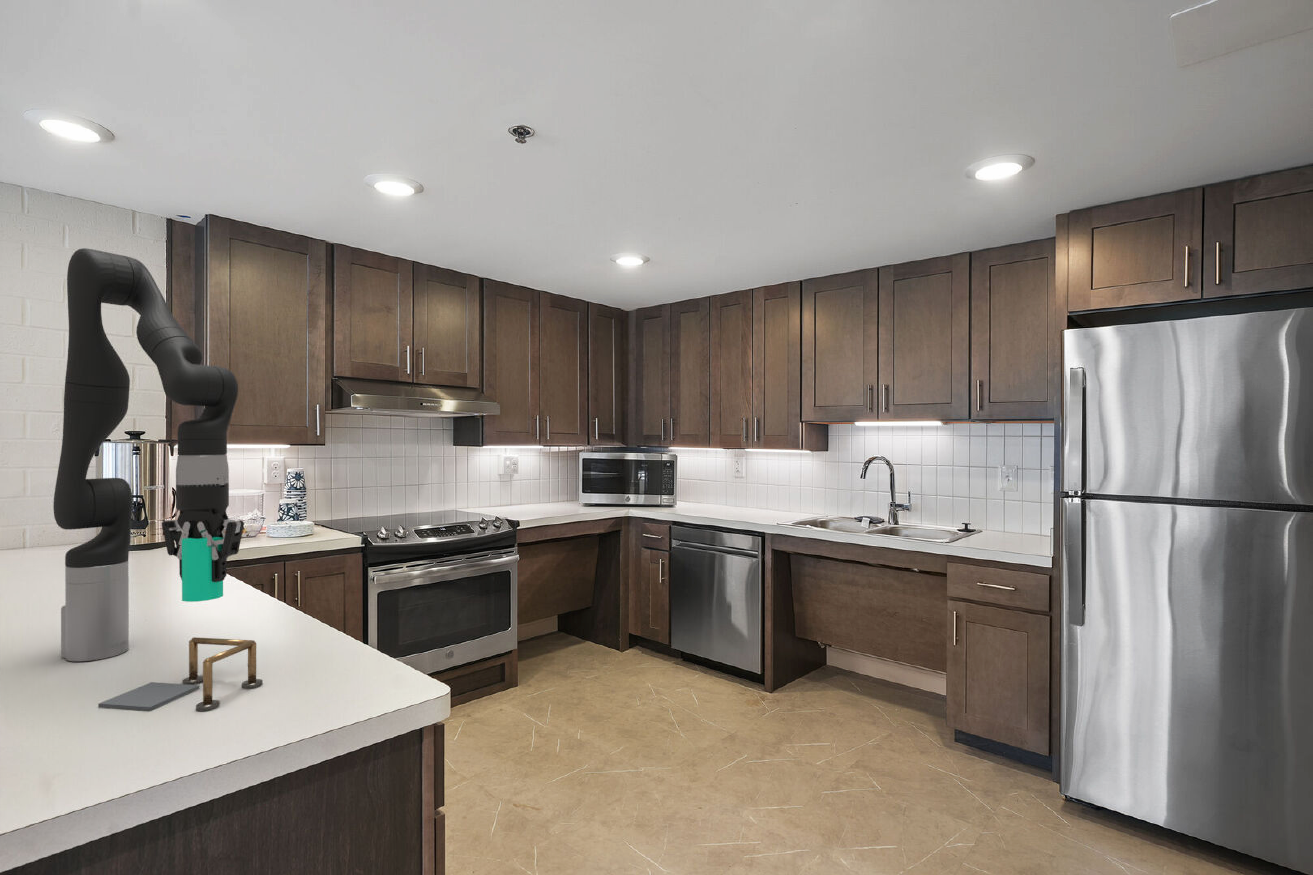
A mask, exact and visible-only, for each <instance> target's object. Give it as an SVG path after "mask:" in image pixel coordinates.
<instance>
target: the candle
mask: <svg viewBox="0 0 1313 875" xmlns="http://www.w3.org/2000/svg"><path fill="white" fill-rule="evenodd" d="M212 539H213V540H214V541H218V540H222V537H212ZM207 541H208V540H207V538H199V539H196V538H185V539H182V580H181V601H182V602H186V603H187V602H188V603H189V602H190V603H191V602H193V603H194V602H195V603H196V602H198V603H199V602H204V601H205V602H206V601H210V600H211V601H212V600H218V599H220V598H221V597H224V580H223V581H219V582H213V581H212V561H213V559H212V556H211V548H210V547H208V546H207ZM217 547H218V550H219V552H220V551H221V546H220V545H217Z"/></svg>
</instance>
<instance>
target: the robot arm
mask: <svg viewBox="0 0 1313 875" xmlns="http://www.w3.org/2000/svg"><path fill="white" fill-rule="evenodd" d="M66 272H67V274H66V285H67V286H66V289H67V290H66V291H67V293H66V294H67V295H66V296H67V313H68V315H67V316H68V318H67V319H68V341H67V342H68V343H67V345H68V346H67V361H66V370H65V380H64V391H63V392H64V393H63V395H64V396H63V422H62V424H63V426H62V439H61V440H62V442H61V448H60V449H61V450H60V456H59V463H58V469H57V475H56V481H55V487H54V495H53V504H52V505H53V517H54V521H55V523H56V525H57V526H58V527H59V528H61V529H63V530H69V531H71V530H83V529H93V528H101V529H100V532H99V533H98V534H97V535H96V536H95V537H93V538H92V539H90V540H88V541H87V542H84V543H82V544H80V545H77V546H75V547H73V548H70V549H69V550H67V552H66V553H65V556H64V560H65V562H64V566H65V567H64V568H65V569H64V571H65V572H64V573H65V575H64V576H65V578H64V579H65V585H64V586H65V589H64V590H65V603H64V605H62V606H61V608H60V658H61V659H62V658H64V659H65V660H66V661H67V662H89V661H96V660H97V661H98V660H102V659H107V658H111V657H115V656H118V655H121V654H123V653H126V652H127V651H129V649H130V645H129V644H130V643H129V642H130V640H129V638H130V637H129V634H130V633H129V632H130V631H129V627H130V620H129V619H130V618H129V617H130V616H129V615H130V614H129V612H130V610H129V609H130V605H129V604H130V598H129V597H130V596H129V584H130V583H129V580H130V579H129V578H130V577H129V553H130V548H131V547H130V546H131V541H132V540H131V539H132V538H131V535H132V534H131V532H132V518H133V516H132V515H133V492H132V489H131V486H130V484H129V482H128V481H127V480H125V479H124V478H121V477H104V478H103V477H101V478H99V477H98V478H87V474H88V471H89V467H90V466H91V465H90V464H91V461H92V460H93V458H94V455H95V454H96V452H97V451H98V449H99V448H100V447H101V446H102V445H103V443H104V442H105V441H106V439H108V437H109V436H111V434H112V433H113V432H114V431H115V430H116V429H117V427H118V426H119V425H120V423H122V421H123V420H124V419H125V417H126V415H127V413H128V409H129V403H130V402H129V401H130V399H129V398H130V385H131V384H130V383H131V380H130V379H131V378H130V374H129V371H128V370H127V367H126V366H125V364H124V362H123V361H122V359H121V357H120V356H119V354H118V353H117V351H116V350H115V348H114V346H113V345H112V343H111V342H110V340H109V338H108V336H107V334H106V331H105V329H104V324H103V318H102V304H108V305H115V306H123V307H124V306H125V307H126V306H128V307H130V308H132V309H133V310H134V311H135V312H137V313H138V314H139V315H140V316H139V319H138V321H137V325H136V332H135V333H136V338H137V341H138V343H139V345H140V347H141V349H142V350H143V351H144V352H145V354H146V355H147V356H148V358H149V359H150V360H151V361H152V362H153V364H155V366H156V369H157V370H158V375H159V376H160V380H161V384H162V388H163V389H162V390H163V391H164V393H165V395H166V396H167V397H168V398H169V399H170V400H171V401H173V402H174V403H177V404H178V405H182V406H192V407H193V406H195V407H204V408H203V411H202V412H201V415H200V416H199V417H198V418H195V419H191V420H185V421H183V422H181V423H180V424H179V425H178V428H177V459H176V465H175V466H176V467H175V508H176V510H177V511H179V515H178V517H177V519H171V520H164V521H162V522H161V527H162V533H163V537H164V542H165V546H166V551H167V555H168V556H175V557H176V558H177V559H178V560H179V563H178V564H179V569H178V570H179V577H180V580H181V581H182V539H185V538H196V539H199V538H207V540H208V541H207V546H208V547H210V548H211V556H212V559H213V561H212V581H213V582H219V581H223V582H224V580H225V578H226V577H227V574H228V573H227V572H228V571H227V570H228V569H227V564H228V562H227V560H228V558H229V557H231V556H234V555H237V554H238V553H239V551H240V546H241V545H240V544H241V540H242V538H243V536H242V535H243V531H244V525H245V522H244V521H243V520H233V519H229V516H228V514H227V509H228V507H229V505H230V497H229V496H230V493H229V492H230V485H229V484H230V482H229V481H230V476H229V474H230V470H229V467H230V466H229V462H228V455H227V454H228V440H227V439H228V437H227V436H228V428H229V426H230V423H231V419H232V416H233V412H234V409H235V407H236V406H235V405H236V403H237V399H238V396H239V383H238V379H237V378H236V376H235V374H234V373H233V371H231V370H230V369H228V368H226V367H223V366H217V365H216V366H215V365H204V364H201V363H202V361H203V354H202V351H201V349H200V348H199V346H198V345H197V344H196V343H195V341H194V340H193V338H191V336H190V335H189V334H188V333H187V332H186V330H184V328H183V327H182V326H181V325H180V324H179V322H178V320H176V317H175V316H174V315H173V313H172V311H171V310H170V308H169V305H168V304H167V302H166V300H165V298H164V296H163V294H162V292H161V290H160V288H159V287H158V285H157V283H156V281H155V279H154V277H153V276H152V274H151V272H150V271H149V269H148V268H147V267H146V266H145V264H144V263H143V262H141V261H140V260H138V259H137V258H134V257H130V256H126V255H121V254H117V253H112V252H107V251H102V250H99V249H98V250H97V249H92V248H78V249H77V250H75V251H74V252H73V254H71V257H70V260H69V262H68V266H67V271H66ZM212 537H222V540H218V541H214V540H213V539H212ZM217 545H220V546H221V551H220V552H219V550H218V547H217Z"/></svg>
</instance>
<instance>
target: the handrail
mask: <svg viewBox="0 0 1313 875" xmlns="http://www.w3.org/2000/svg"><path fill="white" fill-rule="evenodd" d="M198 645H211V646H212V645H215V646H232V648H229V649H227V650H225V651H222V652H218V653H216V654H214V655H212V656H210V657H207V658H205V659H204V660H203V662H202V675H201V674H200V675H199V674H198V673H199V665H198V662H199V660H198V659H199V657H198V656H199V654H198V652H199V649H198V647H199V646H198ZM246 650H247V680H245V681H243V682H241V684H240V685H241V689H242V690H251V689H252V690H253V689H257V688H259V687H262V686H263V684H264V683H263V681H264V680H263V679H261V678H257V641H255V640H252V639H237V638H236V639H232V638H215V637H214V638H213V637H192V638H191V639H190V640H188V676H187V677H185V678H183V679H182V681H181V682H182V683H181V684H188V685H200V684H202V701H200V702H198V703H196V705H195V711H196V712H199V713H200V712H209V711H213V710H216V709H218V708H219V707H220V704H221V703H220V701H221V700H219V699H213V690H214V689H213V663H217V662H218V661H221V660H223V659H225V658H228V657H231V656H234V655H235V654H238V653H240V652H243V651H246Z"/></svg>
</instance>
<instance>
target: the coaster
mask: <svg viewBox="0 0 1313 875" xmlns="http://www.w3.org/2000/svg"><path fill="white" fill-rule="evenodd" d="M200 688H201V687H200V684H195V685H188V684H182V683H171V682H170V683H169V682H168V683H167V682H154V681H151V682H148V683H147V684H143V685H141V686H138V687H135V688H134V689H131V690H129V691H126V692H124V693H121V694H119V695H116V696H113V697H112V698H109V699H107V700H104V701H102V702H99V703H98V705H97V706H98V708H102V709H114V710H115V709H117V710H131V711H142V712H143V711H144V712H151V711H153V710H155V709H158V708H161V707H162V706H164V705H166V704H167V705H168V704H169V703H171V702H173V701H176V700H178V699H180V698H182V697H185V696H187V695H190V694H192V693H194V692H196V691H198V690H200Z"/></svg>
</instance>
